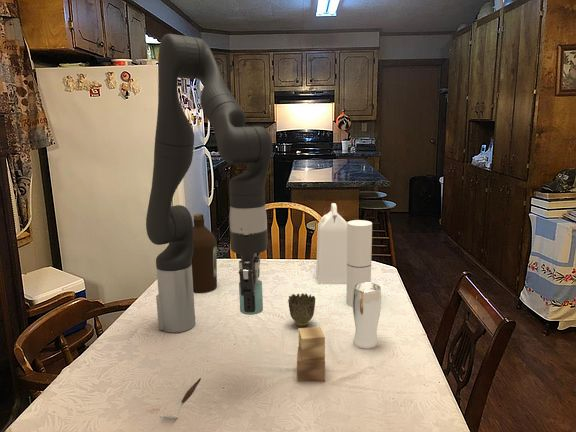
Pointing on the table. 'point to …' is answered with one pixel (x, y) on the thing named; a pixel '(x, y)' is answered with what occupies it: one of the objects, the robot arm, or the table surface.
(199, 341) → the table surface
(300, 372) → the base block
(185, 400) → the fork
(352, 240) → the cylindrical container
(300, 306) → the cup
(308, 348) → the top block
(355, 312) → the beer glass
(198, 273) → the olive oil
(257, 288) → the cylinder
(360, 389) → the table surface
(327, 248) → the milk
